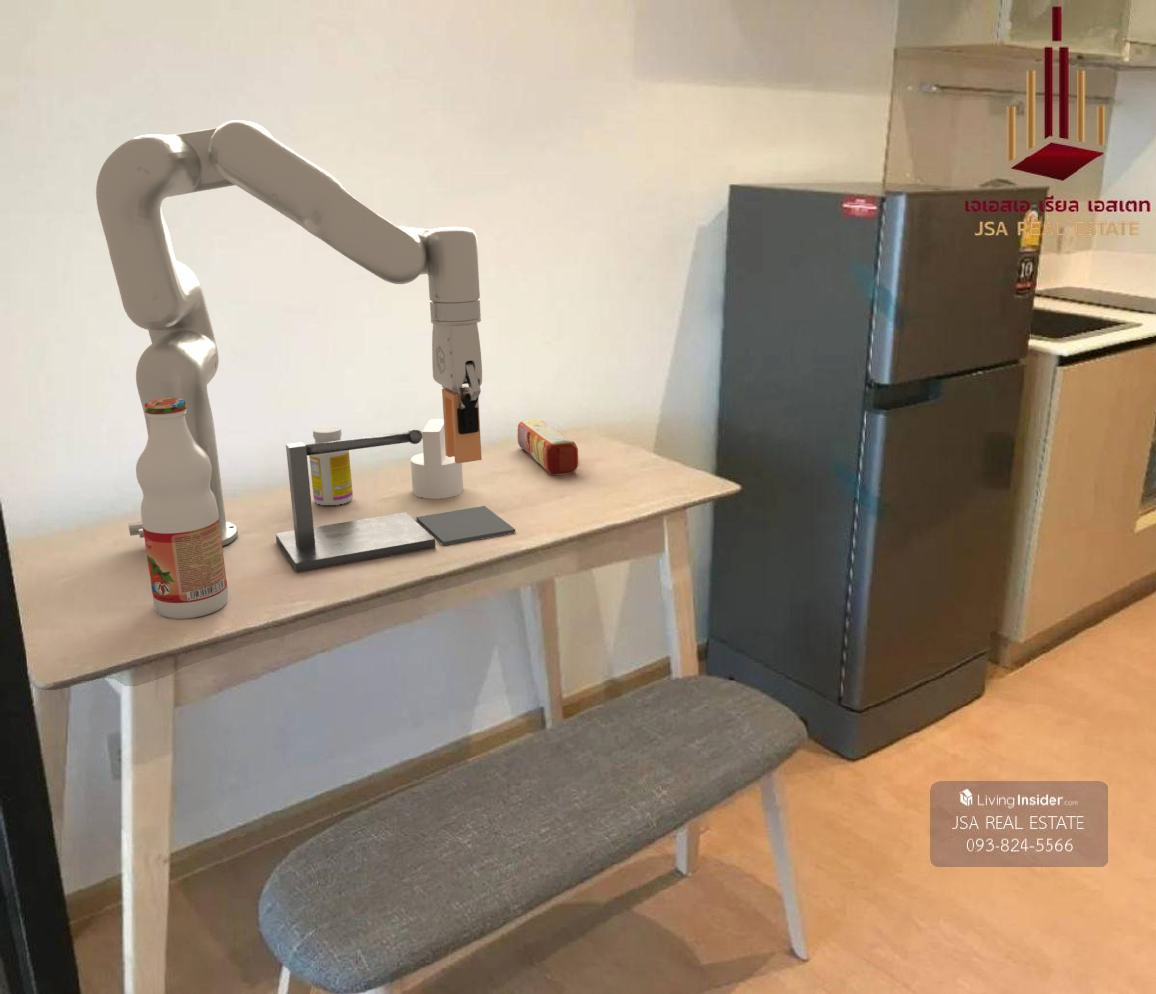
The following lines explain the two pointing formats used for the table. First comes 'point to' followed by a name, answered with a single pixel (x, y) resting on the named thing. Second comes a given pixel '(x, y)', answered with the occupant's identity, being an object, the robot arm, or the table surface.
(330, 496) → the supplement bottle
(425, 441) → the base with upright slab
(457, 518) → the rubber mat
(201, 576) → the fruit juice
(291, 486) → the hanger stand
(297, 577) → the table surface
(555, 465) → the snack package
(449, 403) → the hook link
